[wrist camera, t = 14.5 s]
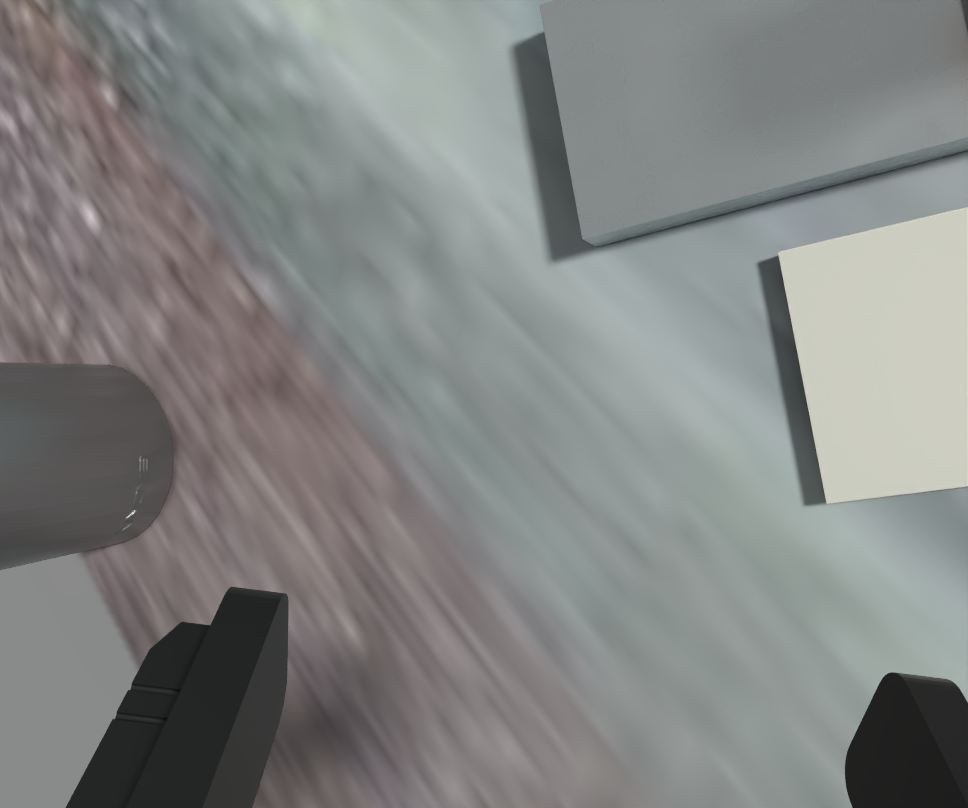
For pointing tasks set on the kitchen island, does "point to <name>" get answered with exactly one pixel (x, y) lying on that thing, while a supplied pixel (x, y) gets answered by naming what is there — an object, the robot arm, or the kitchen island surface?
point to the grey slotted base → (747, 100)
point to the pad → (885, 355)
